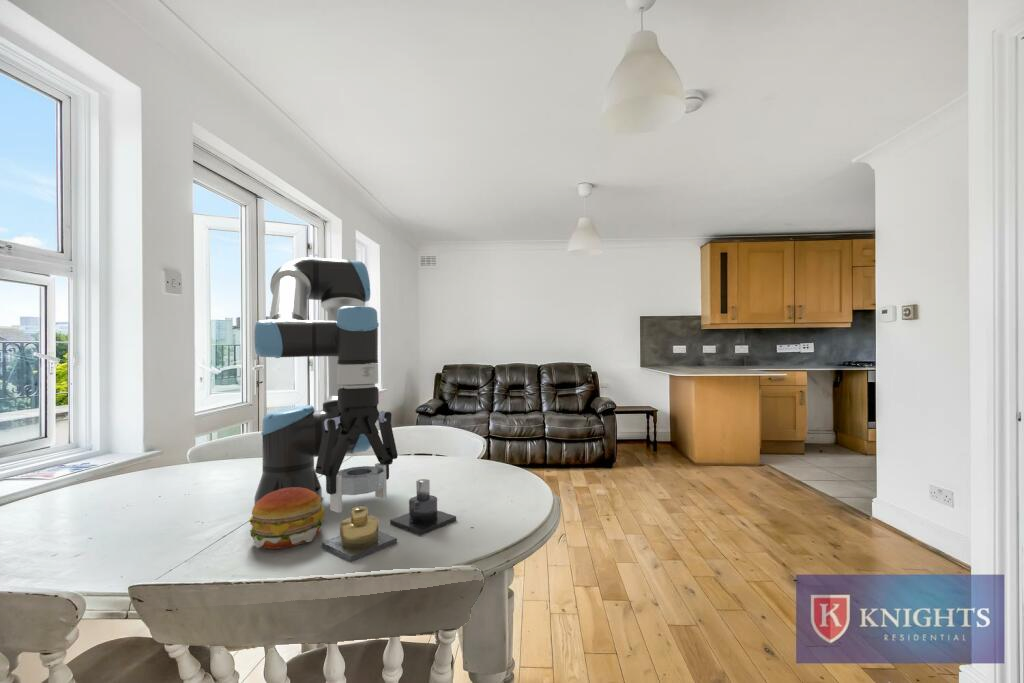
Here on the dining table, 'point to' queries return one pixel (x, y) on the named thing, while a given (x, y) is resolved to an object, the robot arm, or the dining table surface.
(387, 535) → the hub
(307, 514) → the burger
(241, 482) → the dining table surface
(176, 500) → the dining table surface
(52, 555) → the dining table surface
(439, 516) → the stand
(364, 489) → the grey faceted ring
